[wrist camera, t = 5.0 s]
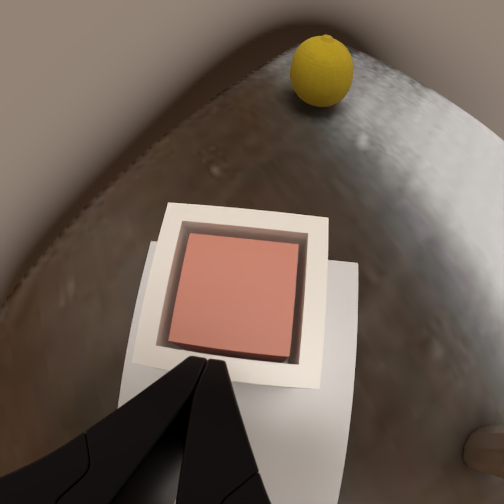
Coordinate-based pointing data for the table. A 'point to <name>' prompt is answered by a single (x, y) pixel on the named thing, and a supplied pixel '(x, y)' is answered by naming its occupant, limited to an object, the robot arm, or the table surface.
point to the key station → (264, 372)
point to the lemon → (321, 71)
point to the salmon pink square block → (236, 298)
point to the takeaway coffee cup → (486, 450)
